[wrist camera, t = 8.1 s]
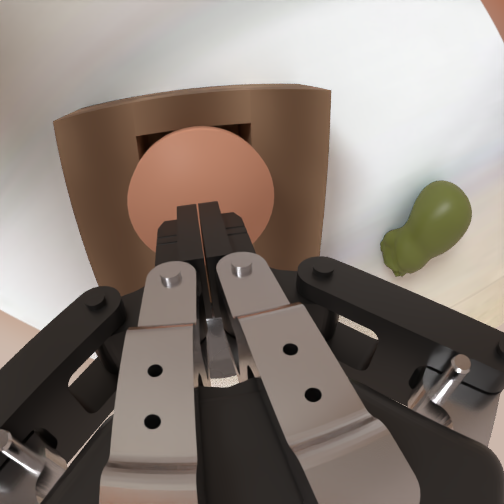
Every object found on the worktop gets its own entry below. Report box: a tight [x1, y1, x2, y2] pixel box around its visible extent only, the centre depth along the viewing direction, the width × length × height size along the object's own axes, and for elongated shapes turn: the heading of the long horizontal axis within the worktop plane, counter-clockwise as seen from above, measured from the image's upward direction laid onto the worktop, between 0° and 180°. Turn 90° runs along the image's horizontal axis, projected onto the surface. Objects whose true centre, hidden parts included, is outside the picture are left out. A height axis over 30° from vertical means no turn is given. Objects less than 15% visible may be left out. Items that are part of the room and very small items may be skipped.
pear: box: [380, 181, 472, 277], centre depth 25 cm, size 6×5×10 cm
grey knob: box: [207, 303, 237, 378], centre depth 22 cm, size 6×6×6 cm
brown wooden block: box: [53, 84, 331, 303], centre depth 21 cm, size 14×20×5 cm
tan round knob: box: [127, 126, 274, 265], centre depth 15 cm, size 6×6×6 cm
